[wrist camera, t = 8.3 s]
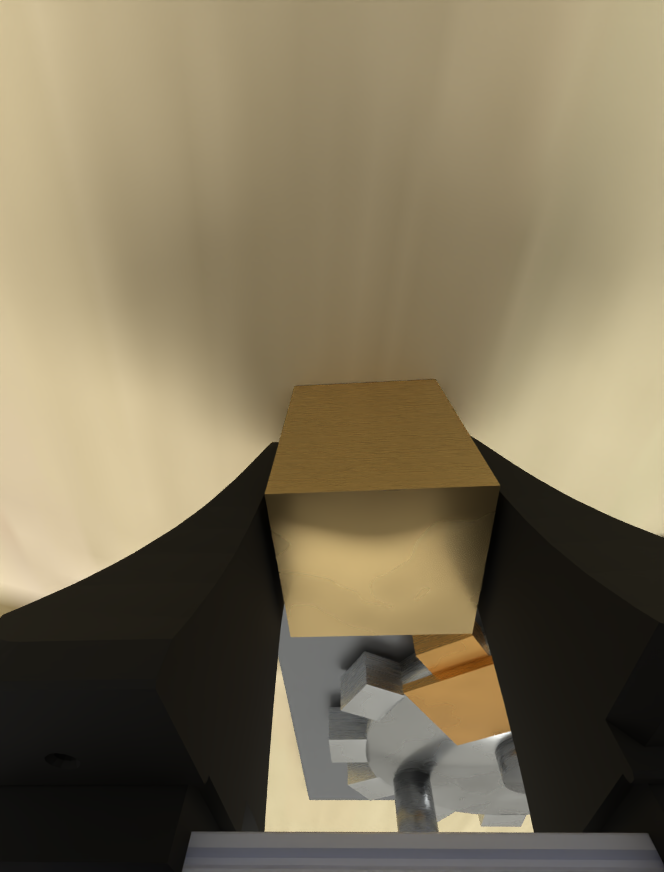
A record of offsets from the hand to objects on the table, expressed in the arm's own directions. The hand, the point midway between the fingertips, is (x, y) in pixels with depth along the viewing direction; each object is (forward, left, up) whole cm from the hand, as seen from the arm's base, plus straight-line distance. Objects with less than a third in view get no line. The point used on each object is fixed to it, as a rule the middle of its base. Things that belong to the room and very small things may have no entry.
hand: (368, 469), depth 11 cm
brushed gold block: (0, 0, -1) cm, 1 cm away
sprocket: (-7, +15, -1) cm, 17 cm away
